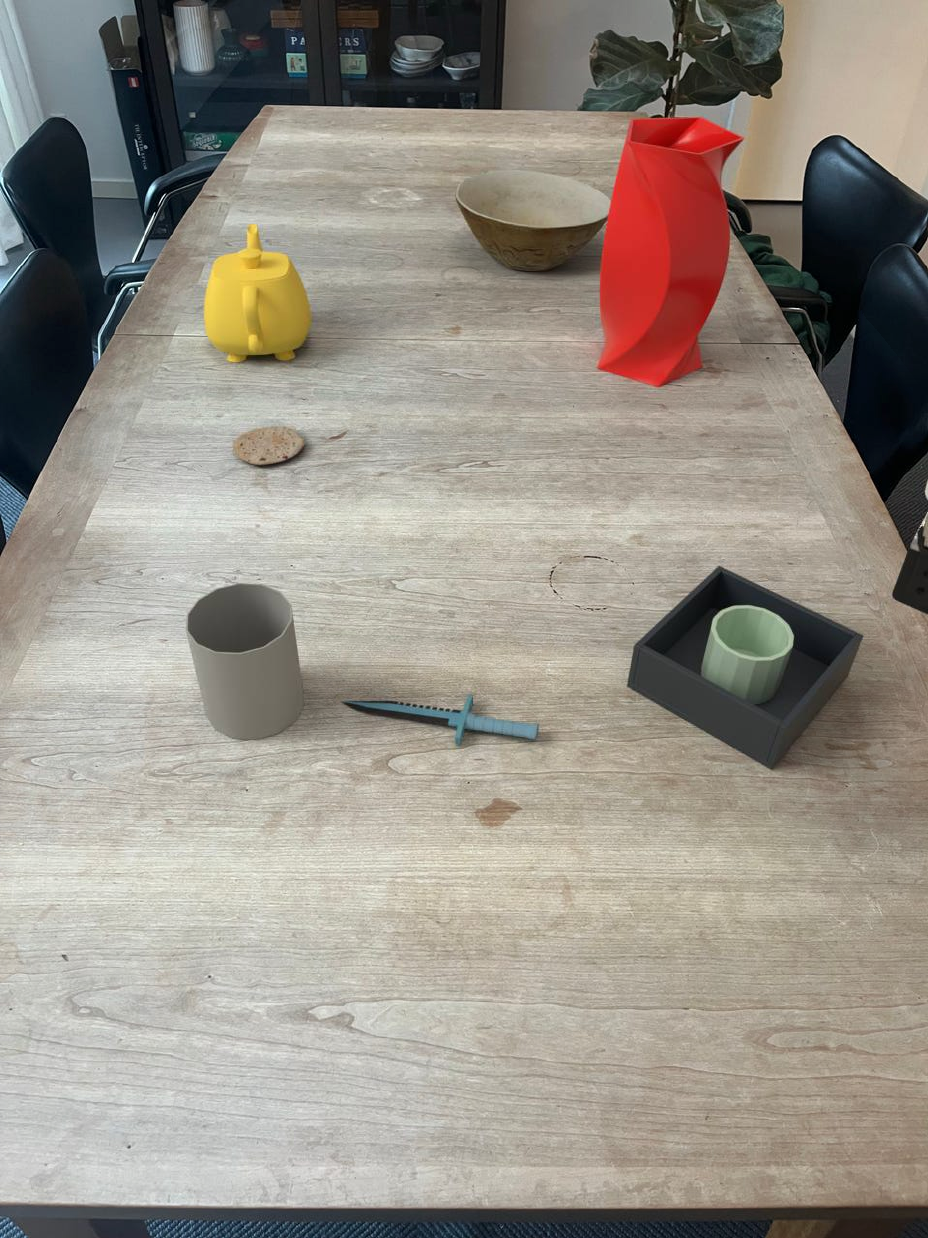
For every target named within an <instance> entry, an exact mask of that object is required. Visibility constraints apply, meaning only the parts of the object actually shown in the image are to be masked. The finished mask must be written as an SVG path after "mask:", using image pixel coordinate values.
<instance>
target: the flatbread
mask: <svg viewBox="0 0 928 1238" xmlns="http://www.w3.org/2000/svg"><path fill="white" fill-rule="evenodd" d="M305 445H306V440H305V439H304V438H303V437H302V436H301V435H300V434H298V432H296V431H295V430H294V429H292V428H290V427H287V426H264V427H259V428H256V429H251V430H248V431H246V432H244V433H243V434H240V435H239V436H238V437H236V438H235V439H234V440H233V443H232V449H233V452H234V454H235V456H236V457H237V458H238V459H239V460H241V461H243V462H246V463H248V464H250V465H254V466H265V465H271V464H272V465H273V464H277V463H278V464H279V463H282V462H285V461H287V460H289V459H292V458H294V457H295V456H296V455H298V454H299V453H300V452H301V451H302V449H303V448H304V446H305Z"/></svg>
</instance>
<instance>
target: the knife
mask: <svg viewBox="0 0 928 1238" xmlns="http://www.w3.org/2000/svg"><path fill="white" fill-rule="evenodd" d="M341 703H343V704H345V705H346V706H348V707H349V708H351V709H354V710H356V711H359V712H362V713H365V714H371V715H378V716H385V717H392V718H397V719H405V720H412V721H419V722H427V723H433V724H440V725H441V724H442V725H447V726H448V727H454V728H456V733H455V737H454V739H455V741H454V742H455V745H457V746H461V745H462V741H463V740H464V736H465V733H466V730H471V731H473V730H474V731H477V732H485V733H492V734H498V735H499V734H500V735H502V734H503V735H507V736H514V737H520V738H527V739H528V740H533V741H536V740H537V738H538V734H539V727H540V726H539V723H535V722H534V723H528V722H521V721H515V720H508V719H507V720H505V719H500V718H497V719H496V718H493V717H486V716H479V715H478V716H477V715H475V714H474V713H472V710H473V709H472V708H473V705H474V694H470V693H469V694H467V697H466V700H465V703H464V706H463V708H461V709H452V710H451V708H446V709H444V707H439V709H438V707H437V706H433V707H432V708H431V705H426V706H425V707H424V704H419V706H418V704H417V703H413V704H412V705H411V702H406V703H405V702H403V701H401V702H399V701H397V700H396V701H395V700H347V701H346V700H345V701H344V700H343V701H342V700H341Z"/></svg>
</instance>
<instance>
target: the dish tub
mask: <svg viewBox="0 0 928 1238" xmlns="http://www.w3.org/2000/svg"><path fill="white" fill-rule="evenodd" d="M739 605H751V606H755V607H760V608H764V609H767V610H769V611H771V612H773V613H775V614H777V615H778V616H780V617H781V618H782V619H783V620H784V621H785V622H786V623H787V624H788V625H789V626H790V628H791V631H792V633H793V635H794V640H793V647H792V650H791V653H790V656H789V659H788V662H787V665H786V668H785V671H784V674H783V677H782V680H781V683H780V686H779V688H778V690H777V692H776V694H775V695H774V696H773V697H772V698H771V699H769V700H768V701H766V702H764V703H761V704H756V705H753V704H751V703H749V702H747V701H746V700H744V699H742V698H740V697H738V696H736V695H735V694H733V693H731V692H729V691H727V690H725V689H724V688H722V687H720V686H718V685H716V684H715V683H713V682H711V681H709V680H707V679H705V678H704V677H702V676H701V666H702V661H703V657H704V653H705V649H706V645H707V641H708V637H709V633H710V629H711V625H712V621H713V618H714V617H715V616H716V615H717V614H718V613H719V612H720V611H721V610H723V609H726V608H729V607H732V606H739ZM863 639H864V635H863V634H861V633H860V632H857V631H855V630H853V629H851V628H849V627H847V626H845V625H843V624H841V623H839V622H838V621H835V620H833V619H830V618H828V617H826V616H824V615H822V614H821V613H818V612H816V611H814V610H812V609H809V608H808V607H806V606H804V605H802V604H800V603H798V602H796V601H794V600H792V599H789V598H787V597H786V596H783V595H781V594H779V593H777V592H774V591H773V590H770V589H769V588H766V587H765V586H762V585H760V584H758V583H756V582H754V581H752V580H750V579H747V578H746V577H743V576H741V575H739V574H738V573H736V572H734V571H731V570H729V569H727V568H725V567H723V566H721V565H718V566H717V567H716V568H715V569H714V570H713V571H712V572H710V573H709V574H708V575H707V576H706V577H705V578H704V579H703V580H702V581H701V582H700V583H699V584H697V586H696V587H695V588H693V589H692V590H691V591H690V592H689V593H688V594H686V596H685V597H684V598H682V600H681V601H679V603H677V604H676V606H675V607H673V608H672V609H671V610H670V611H669V612H668V613H667V614H666V615H664V616H663V617H662V618H661V619H660V620H659V621H658V622H657V623H656V624H655V625H654V626H653V627H652V628H651V629H649V630H648V631H647V632H646V633H645V634H644V635H643V636H642V637H640V638H639V640H638V641H637V642H636V643H635V644H634V645H633V650H632V655H631V661H630V666H629V672H628V678H627V683H626V687H627V688H629V689H631V690H633V691H634V692H636V693H638V694H640V695H641V696H643V697H645V698H647V699H648V700H650V701H652V702H653V703H655V704H657V705H659V706H660V707H662V708H664V709H666V710H667V711H669V712H671V713H672V714H674V715H676V716H677V717H679V718H681V719H682V720H685V721H686V722H688V723H690V724H692V725H693V726H695V727H697V728H699V729H700V730H702V731H703V732H705V733H707V734H709V735H710V736H712V737H714V738H715V739H717V740H719V741H721V742H722V743H725V744H726V745H728V746H730V747H732V748H733V749H735V750H737V751H738V752H740V753H742V754H743V755H745V756H747V757H748V758H750V759H752V760H754V761H755V762H757V763H759V764H761V765H763V766H764V767H766V768H767V769H769V770H773V769H774V768H775V767H776V765H777V764H778V763H779V762H781V761H780V760H781V759H782V758H783V757H784V756H785V754H787V753H788V751H789V750H790V748H791V747H792V746H793V744H795V742H796V741H797V740H798V738H799V737H800V736H801V735H802V734H803V733H804V731H805V730H806V729H807V728H808V726H809V725H810V724H811V723H812V721H813V720H814V719H815V718H816V717H817V715H818V714H819V712H821V710H822V709H823V707H824V706H825V705H826V704H827V703H828V702H829V700H830V699H831V698H832V696H834V694H835V693H836V692H837V690H838V689H839V688H840V687H841V686H842V684H843V683H844V682H845V680H847V678H848V677H849V674H850V672H851V669H852V667H853V665H854V662H855V659H856V656H857V654H858V651H859V649H860V646H861V643H862V641H863Z"/></svg>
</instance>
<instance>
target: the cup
mask: <svg viewBox="0 0 928 1238" xmlns="http://www.w3.org/2000/svg"><path fill="white" fill-rule="evenodd" d="M185 632H186V637H187V641H188V645H189V646H188V647H189V649H190V653H191V658H192V661H193V666H194V671H195V675H196V679H197V683H198V687H199V693H200V695H201V700H202V704H203V708H204V712H205V716H206V718H207V719H208V721H209V723H210V724H211V726H212V727H213V729H214V730H215V731H217V732H218V733H221V734H223V735H225V736H227V737H229V738H231V739H234V740H249V741H250V740H251V741H257V740H261V739H264V738H265V739H266V738H268V737H272V736H275V735H278V734H280V733H281V732H283V731H284V730H286V729H287V728H288V727H289V726H291V725H292V724H293V723H295V722H297V719H298V717H299V715H300V714H301V712H302V710H303V708H304V706H305V700H304V699H305V698H304V686H303V678H302V674H301V672H302V671H301V664H300V657H299V651H298V650H299V649H298V644H297V643H298V642H297V636H296V629H295V621H294V613H293V607H292V603H291V602H290V600H288V599H287V597H286V596H285V595H284V594H283V593H282V591H280V590H278V589H275V588H273V587H270V586H267V585H265V584H263V583H251V582H250V583H247V582H245V583H244V582H238V583H237V582H236V583H233V584H228V585H225V586H220V587H217V588H215V589H213V590H212V591H210V592H208V593H206V594H205V595H203V596H201V597H199V598H198V599H197V600H196V601H195V603H194V604H193V606H192V607H191V608H190V609H189V611H188V612H187V613H186V621H185Z"/></svg>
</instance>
